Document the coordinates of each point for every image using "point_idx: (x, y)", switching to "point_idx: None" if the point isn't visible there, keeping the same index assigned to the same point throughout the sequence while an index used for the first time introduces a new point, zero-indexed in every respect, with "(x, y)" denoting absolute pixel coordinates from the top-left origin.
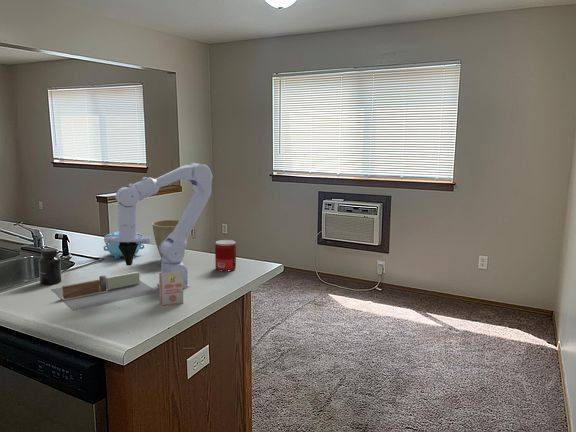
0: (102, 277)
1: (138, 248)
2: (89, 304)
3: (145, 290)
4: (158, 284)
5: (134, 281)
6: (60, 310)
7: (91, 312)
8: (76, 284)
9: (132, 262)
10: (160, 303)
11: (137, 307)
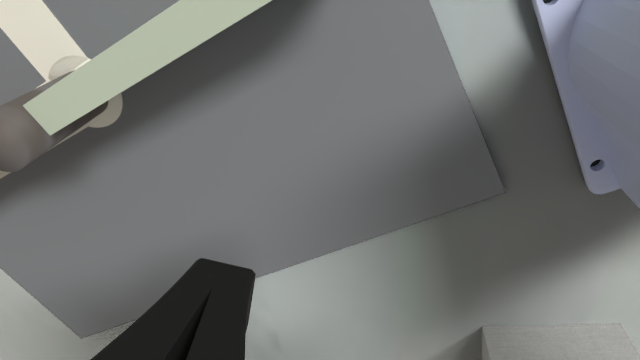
0: (12, 170)
1: None
2: (116, 294)
3: (405, 143)
4: (538, 19)
5: None
6: (20, 311)
7: None
8: None
9: (251, 288)
10: (482, 358)
11: (362, 356)
